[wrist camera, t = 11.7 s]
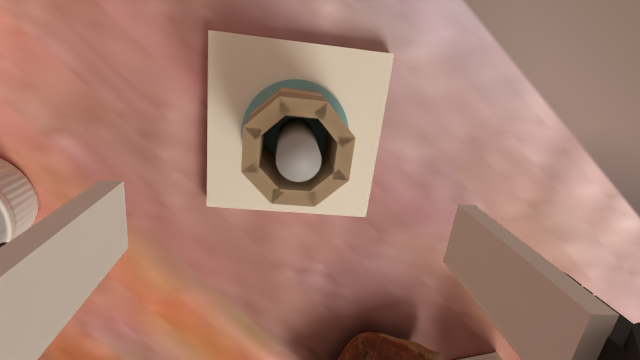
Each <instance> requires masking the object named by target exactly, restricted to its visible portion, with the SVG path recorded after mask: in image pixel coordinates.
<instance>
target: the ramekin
mask: <svg viewBox="0 0 640 360" xmlns="http://www.w3.org/2000/svg"><path fill="white" fill-rule="evenodd" d="M37 212H38V200H37V195H36V192H35V190H34V188H33V186H32V185H31V183H30V182H29V180H28V179H27V178H26V176H25V175H24V174H23V173H22V172H21V171H20V170H18V169H17V168H16V167H14V166H13V165H12V164H10V163H9V162H7V161H5V160H3V159H1V158H0V243H2V242H9V241H11V240H12V239H14V238H15V237H17V236H18V235H20V234H21V233H23V232H24V231H26V230H27V229H28V228H29V227H30V226H31V225H32V223H33V222H34V220H35V218H36V215H37Z"/></svg>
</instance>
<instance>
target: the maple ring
mask: <svg viewBox="0 0 640 360" xmlns="http://www.w3.org/2000/svg"><path fill="white" fill-rule="evenodd" d="M285 115H288V116H298V117H308V118H318V119H319V120H320V121H321V123H322V124H323V125H324V126H325V128H326V129H327V133H326V141H325V149H324V150H323V151H322V152H321V159H322V160H321V166H320V169H319V171H318V172H317V173H316V175H315V176H313V177H312V178H311V179H309V180H306V181H303V182H295V181H291V180H288V179H286V178H285V177H284V176H283V175H281V173H280V172H279V170H278V168H277V165H276V157H275V155H274V154H273V153H272V152H271V151H270V150H269V149H268V148H267V146H266V145H265V144H264V142H265V132H266V131H267V130H268V129H270V128H271V127H272V126H273V125H274V124H276V123H277V122H278V121H279V120H280V119H282V118H283V117H284V116H285ZM354 145H355V136H354V135H353V134H352V133H351V131H350V130H349V129H348V127H347V126H346V125H345V123H344V122H343V121H342V120H341V118H340V117H339V116H338V114H337V113H336V112H335V110H334V109H333V108H332V107H331V105H330V104H329V103H328V101H327V100H326V99H325V98H324V97H323V96H322V94H321V93H320V92H319V91H310V90H301V89H292V88H283V87H281V88H280V89H278V90H277V91H276V92H275V93H274V94H272V95H271V96H270V97H269V98H268V99H267V100H265V101H264V102H263V103H262V104H261V105H259V106H258V107H257V108H256V109H255V110H254V111H252V113H251V115H250V116H249V118H248V120H247V121H246V123H245V125H244V126H243V139H242V162H241V172H242V173H243V175H244V176H245V177H246V178H247V179H248V180H249V181H250V182H251V183H252V184H253V185H254V186H255V187H256V188H257V189H258V190H259V191H260V192H261V193H262V195H263V196H264V197H265V198H266V199H267V200H268V201H269V202H270V203H272V204H281V205H296V206H310V207H314V206H316V205H318V204H319V203H320V202H322V201H323V200H324V199H326V198H327V197H328V196H330V195H331V194H332V193H333V192H335V191H336V190H337V189H339V188H340V187H341V186H343V185H344V184H345V183H347V182H348V181H349V177H350V171H351V164H352V158H353V151H354Z"/></svg>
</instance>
